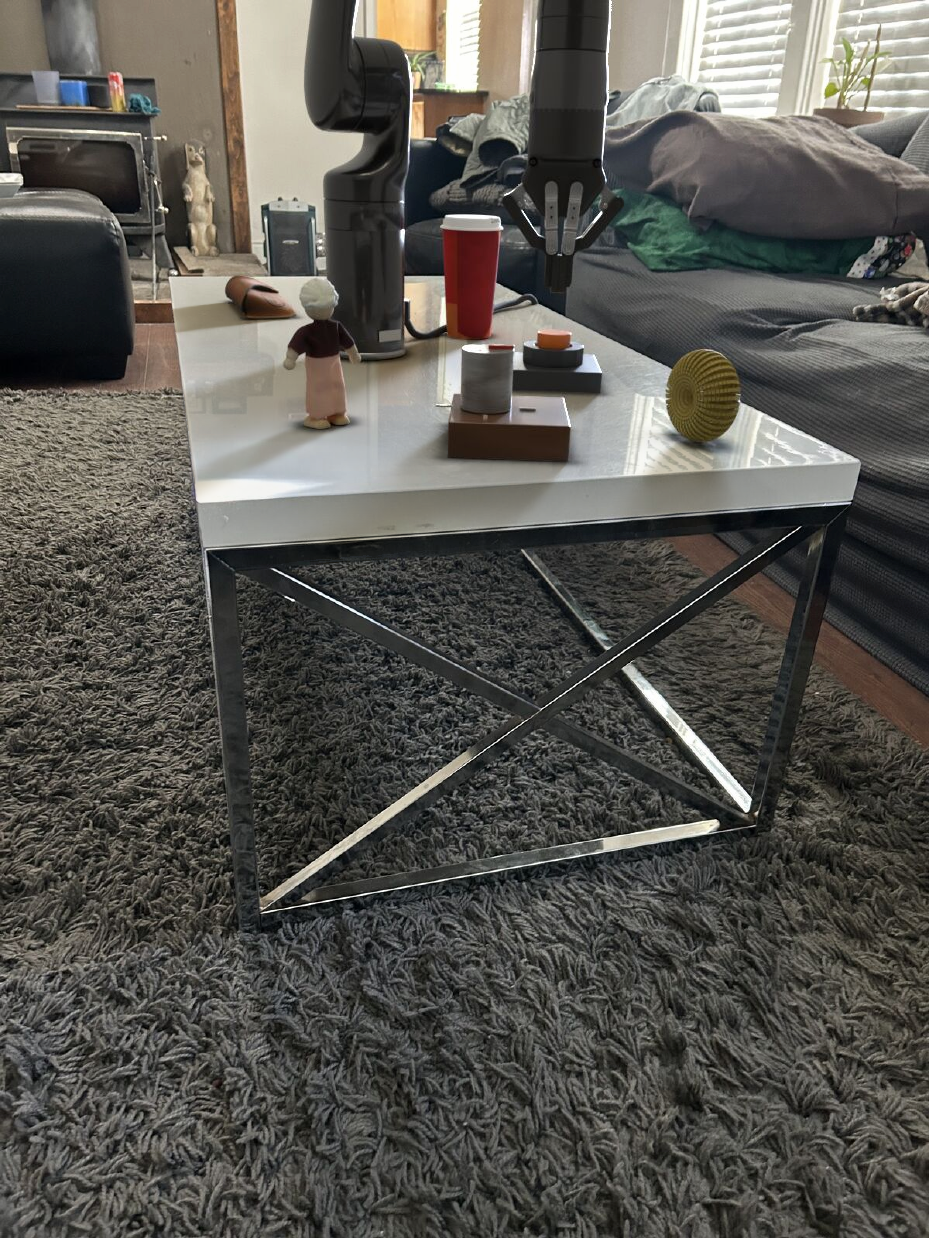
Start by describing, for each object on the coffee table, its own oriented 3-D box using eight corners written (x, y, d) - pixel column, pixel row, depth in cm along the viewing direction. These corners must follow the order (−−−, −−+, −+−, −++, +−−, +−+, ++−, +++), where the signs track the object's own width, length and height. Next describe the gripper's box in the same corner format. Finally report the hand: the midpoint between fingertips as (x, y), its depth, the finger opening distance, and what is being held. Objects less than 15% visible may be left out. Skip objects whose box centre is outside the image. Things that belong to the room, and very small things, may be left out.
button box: (505, 370, 110) (507, 335, 109) (592, 373, 110) (595, 338, 108) (506, 390, 101) (507, 352, 100) (600, 393, 101) (603, 355, 99)
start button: (536, 345, 106) (537, 328, 105) (568, 346, 106) (569, 329, 105) (537, 351, 103) (538, 334, 102) (570, 352, 103) (572, 335, 102)
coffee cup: (509, 334, 131) (515, 216, 125) (480, 343, 125) (484, 219, 118) (457, 327, 135) (460, 213, 129) (426, 336, 129) (427, 215, 122)
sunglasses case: (301, 314, 139) (275, 273, 135) (261, 341, 138) (233, 300, 135) (278, 296, 154) (254, 259, 150) (241, 321, 153) (217, 284, 150)
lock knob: (460, 413, 80) (462, 349, 78) (460, 400, 84) (461, 339, 82) (512, 414, 80) (515, 350, 78) (510, 402, 84) (512, 340, 82)
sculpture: (652, 431, 88) (662, 342, 85) (687, 427, 90) (699, 340, 86) (704, 454, 82) (718, 360, 78) (742, 450, 83) (757, 357, 80)
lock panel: (438, 425, 88) (439, 391, 87) (561, 429, 88) (563, 395, 86) (431, 457, 79) (432, 419, 78) (568, 462, 79) (571, 424, 78)
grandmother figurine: (338, 412, 91) (334, 272, 85) (367, 420, 89) (364, 277, 83) (276, 428, 86) (267, 279, 80) (305, 436, 84) (298, 284, 78)
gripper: (631, 110, 97) (616, 289, 104) (501, 107, 97) (495, 286, 105) (640, 106, 90) (623, 298, 98) (500, 103, 90) (493, 295, 98)
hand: (556, 292), depth 101 cm, fingers closed
